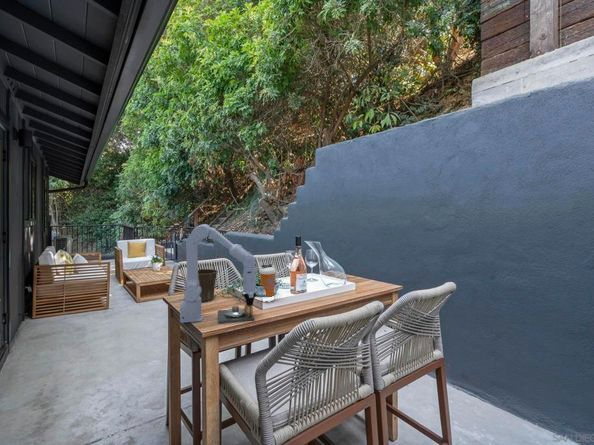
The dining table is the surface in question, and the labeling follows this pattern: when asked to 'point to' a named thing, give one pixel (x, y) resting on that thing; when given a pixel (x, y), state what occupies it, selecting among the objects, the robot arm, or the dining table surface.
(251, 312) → the flange
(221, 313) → the base plate
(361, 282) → the dining table surface
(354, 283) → the dining table surface
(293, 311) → the dining table surface
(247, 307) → the dowel
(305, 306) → the dining table surface
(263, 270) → the glass of beer
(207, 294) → the plant pot
